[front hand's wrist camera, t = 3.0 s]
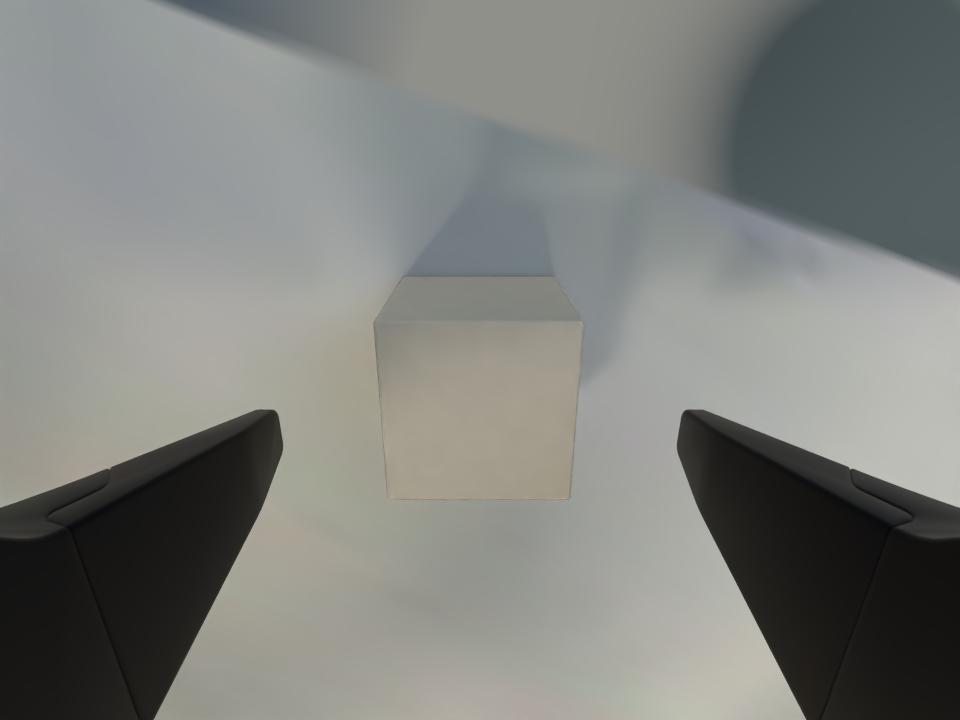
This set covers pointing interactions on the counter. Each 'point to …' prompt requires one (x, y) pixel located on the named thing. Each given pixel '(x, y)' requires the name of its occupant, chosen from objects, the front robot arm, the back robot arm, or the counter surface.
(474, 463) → the light grey cube-like block
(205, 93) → the counter surface
